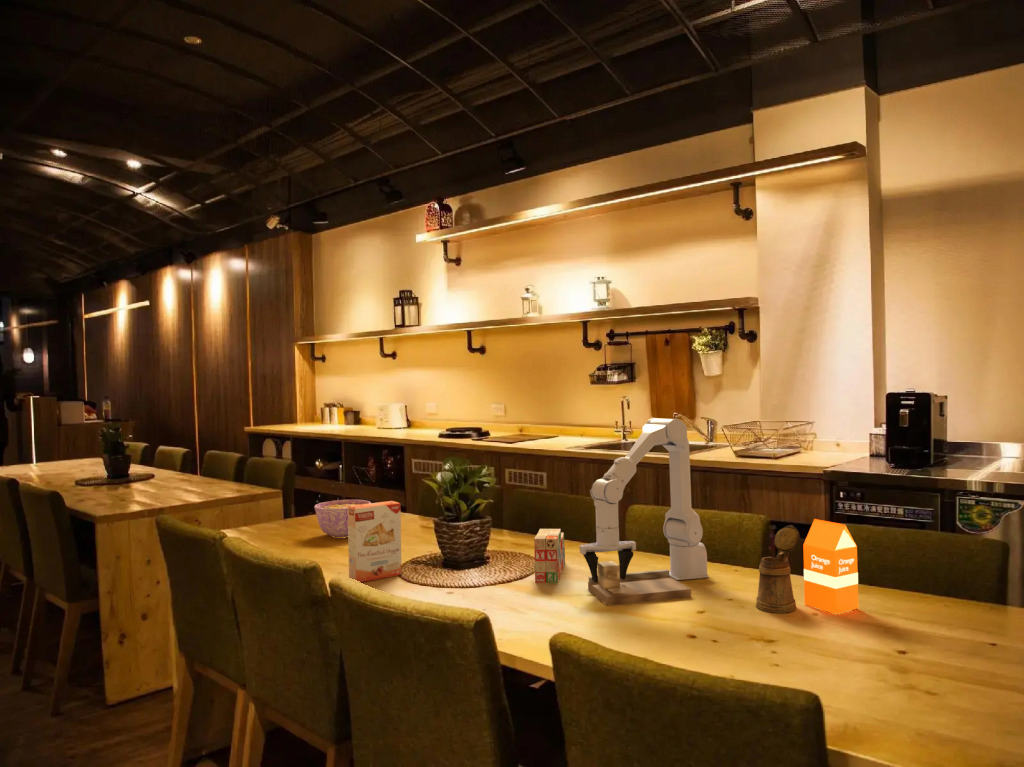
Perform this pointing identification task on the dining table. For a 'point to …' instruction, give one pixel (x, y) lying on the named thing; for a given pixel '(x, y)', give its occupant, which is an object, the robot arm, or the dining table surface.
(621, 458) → the robot arm
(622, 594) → the walnut board
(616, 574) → the tan wooden block
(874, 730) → the dining table surface
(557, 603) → the dining table surface
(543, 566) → the stack of blocks
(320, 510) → the bowl of food
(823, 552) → the orange juice
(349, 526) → the cracker box
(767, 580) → the wooden mug
